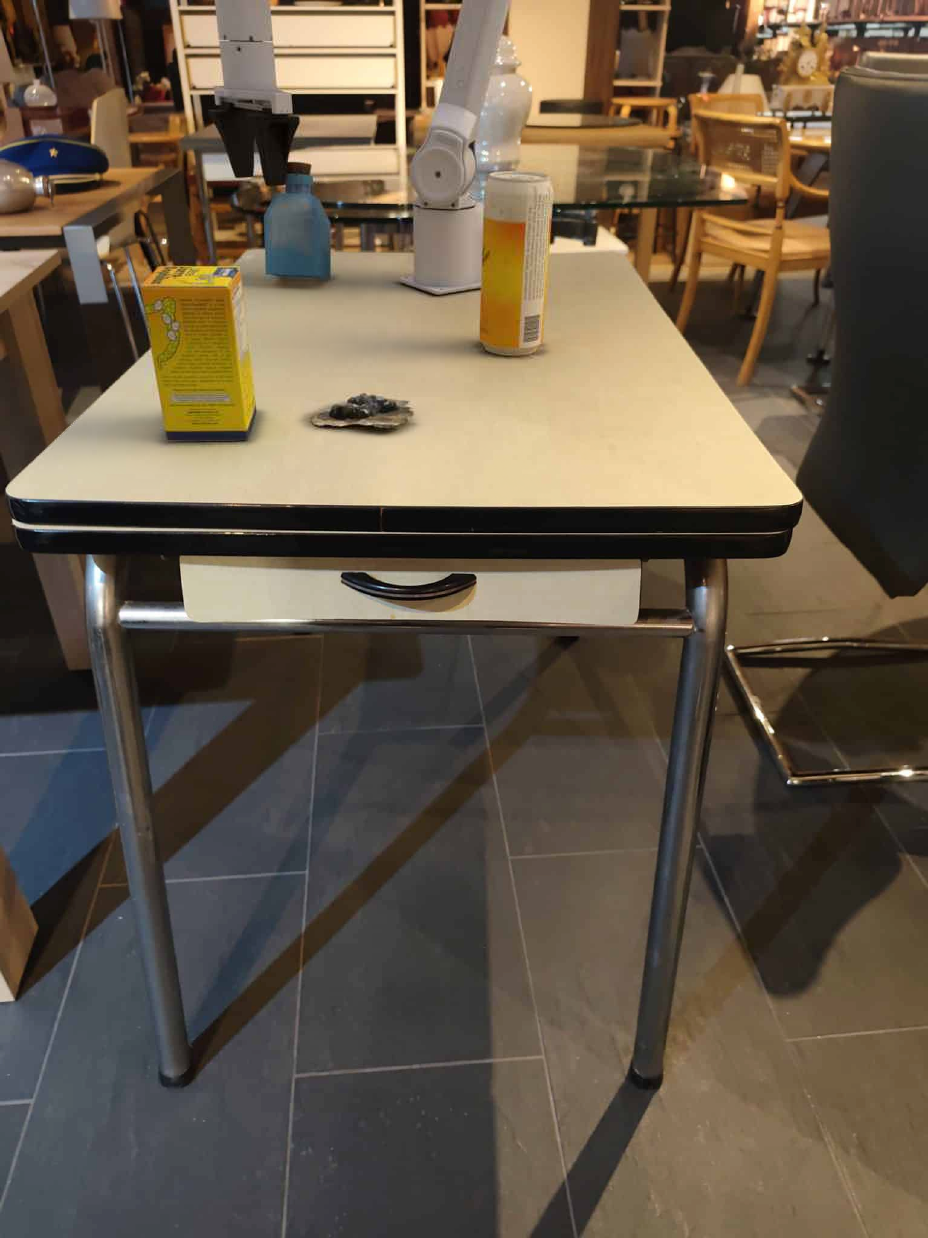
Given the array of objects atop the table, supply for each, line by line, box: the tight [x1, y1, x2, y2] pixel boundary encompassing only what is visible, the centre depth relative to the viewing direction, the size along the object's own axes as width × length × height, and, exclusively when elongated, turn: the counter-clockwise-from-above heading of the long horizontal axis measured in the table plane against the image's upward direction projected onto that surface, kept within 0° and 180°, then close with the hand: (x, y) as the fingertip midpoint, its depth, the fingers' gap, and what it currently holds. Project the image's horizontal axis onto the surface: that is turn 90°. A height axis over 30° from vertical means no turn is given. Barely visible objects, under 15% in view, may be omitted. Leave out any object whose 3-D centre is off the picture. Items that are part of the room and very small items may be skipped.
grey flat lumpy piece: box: [309, 392, 415, 429], centre depth 68 cm, size 7×8×2 cm
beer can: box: [478, 170, 554, 357], centre depth 81 cm, size 6×6×15 cm
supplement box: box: [139, 265, 257, 443], centre depth 63 cm, size 6×6×11 cm
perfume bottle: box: [263, 161, 332, 280], centre depth 103 cm, size 6×6×12 cm
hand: (259, 181), depth 103 cm, fingers open, 7 cm apart
